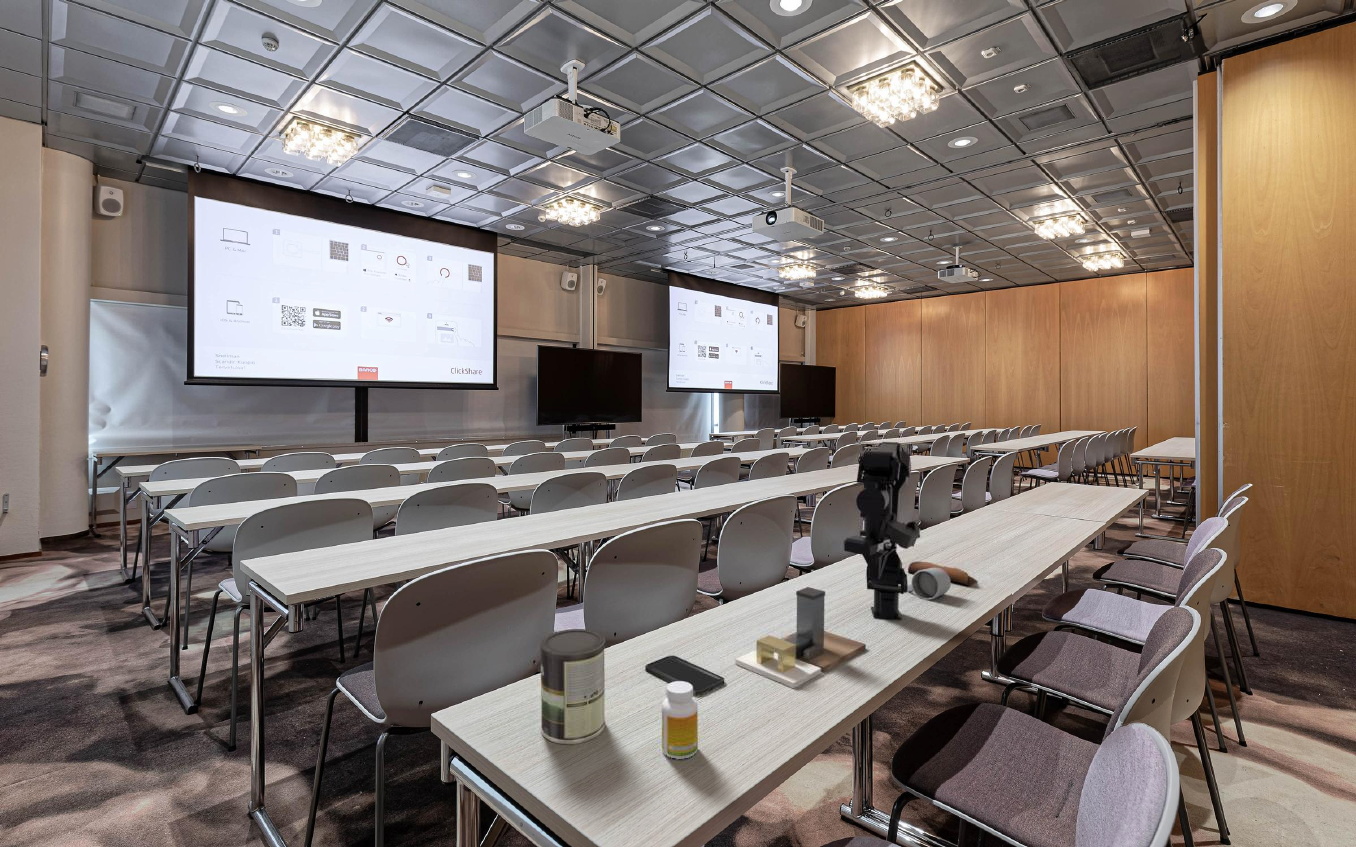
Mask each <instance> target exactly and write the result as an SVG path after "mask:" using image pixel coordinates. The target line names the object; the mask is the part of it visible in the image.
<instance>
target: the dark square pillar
mask: <svg viewBox="0 0 1356 847" xmlns="http://www.w3.org/2000/svg"><path fill="white" fill-rule="evenodd" d="M795 595H796V632H797V636H795V637H793V638H791V639H789V640H786V641H787V642H790V643H793V644H796V658H798V657H800V656H802V655H804V650H806V649H808V648H810V647H812V646H814V645H816V644H821V645H823V647H824V631H825V596H826V591H825V590H821V589H817V588H813V587H810V586H807V587H804V588H801V589H799V590H797V591H796V592H795Z"/></svg>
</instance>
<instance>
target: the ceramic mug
mask: <svg viewBox="0 0 1356 847" xmlns="http://www.w3.org/2000/svg"><path fill="white" fill-rule="evenodd" d="M951 582H952V581H951V580H950V577H949V575H948V574H947V573H946V572H945V571H944V570H942V569H940V568H929V569H924V570H920V571H917V572H916V573H913V575H912V577H911V582H910V584H908V592H912V591H913V592H914V594H915V595H916V596H917V597H918V598H920V599H922V600H925V601H931V600H934V599H936V598H938V597H940V596H942V595H945V594H946V593H948V591H949V590H950V589H951V584H952V583H951Z"/></svg>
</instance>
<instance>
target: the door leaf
mask: <svg viewBox="0 0 1356 847" xmlns="http://www.w3.org/2000/svg"><path fill="white" fill-rule="evenodd" d="M793 635H795V636H797V631H795V632H793V633H791V634H788V635H787V636H784V637H781V639H782V640H784V639H786V638H788V637H791V636H793ZM866 644H867V643H863V642H861V641H857V640H855V639H852V638H851V639H850V638H848V637H845V636H841V635H839V634H835V633H832V632H829V631H826V630H824V647H823V654H822V655H820V656H818V657H816V658H814V659H812V660H810V661H807V660H804V655H802V656H800V657H798V658H796V659H798V660H800V661H803V662H806V663H808V664H811V665H814V666H816V667H819V668H821V673H824V672H826V671H829V670H830V669H832V668H833V667H835V666H837V665H839V664H841V663H842V662H845V661H846V660H848V659H850V658H852V657H854V656H855V655H858V654H859V653H861V652H862V651H864V650H866V647H867V646H866Z"/></svg>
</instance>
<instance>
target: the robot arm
mask: <svg viewBox="0 0 1356 847" xmlns="http://www.w3.org/2000/svg"><path fill="white" fill-rule="evenodd" d="M911 476H912V462H911V456H910V455H909V454H908V453H907V452H906V450H904V449H903V447H902V443H901V442H897V441H893V442H892V441H882V442H879V443H878V447H877V448H876V449H875V450H864V451H863V453H862V454H861V455H860V456H859V462H858V469H857V476H856V477H857V478H856V484H863V489H862V490H861V491H859V493H858V495H857V497H856V500H855V502H856V507H857V509H858V510H859V512H860V516H859V517H860V518H863V530H860V531H859V535H854V536H852V535H851V536H850V537H847V538H846V539H844V541H843V544H842V546H843V547H842V548H843V550H842V551H843V552H847V553H854V554H857V555H862V557H863V559H864V561H865V563H866V564H867V565H866V570H865V572H866V574H865V577H866V578H865V579H866V590H871V591H873V606H871V607H870V610H871V614H872V617H873V618H876V619H891V620H902V618H903V617H902V614H901V612H900V609H899V598H900V596H899V595H900V594H901V595H904V594H906V593H909V591H908V585H909V584H908V583H909V582H908V574H907V573H906V571H905V568H903V562H902V560H901V558H900V556H899V554H898V552H897V550H898V547H899V548H901V549H905V550H906V549H909V548H911V547H914V546H915V545H916V541H917V539H919V538H921V535H920V533H921V531H920V524H919V523H918V522H916V521H914V520H911V521H908V522H907V523H906V522H900V521H899V520H900V518H899V517H900V516H899V515H900V504H901V494H902V493H903V492H904V491H905V489H906V488H907V487H908V483H909V478H911Z"/></svg>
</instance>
